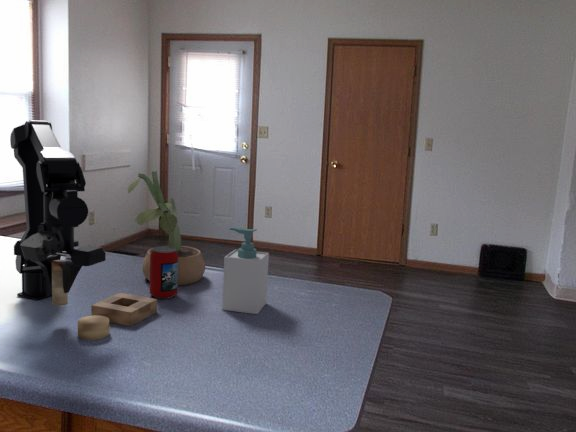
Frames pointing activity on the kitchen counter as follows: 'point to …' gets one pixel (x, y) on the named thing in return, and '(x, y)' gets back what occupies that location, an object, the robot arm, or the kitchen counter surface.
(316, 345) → the kitchen counter surface
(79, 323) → the tan rounded disc
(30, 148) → the robot arm
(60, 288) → the wooden dowel
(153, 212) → the potted plant
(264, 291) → the soap bottle
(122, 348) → the kitchen counter surface
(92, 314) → the square wooden frame
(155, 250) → the beverage can
